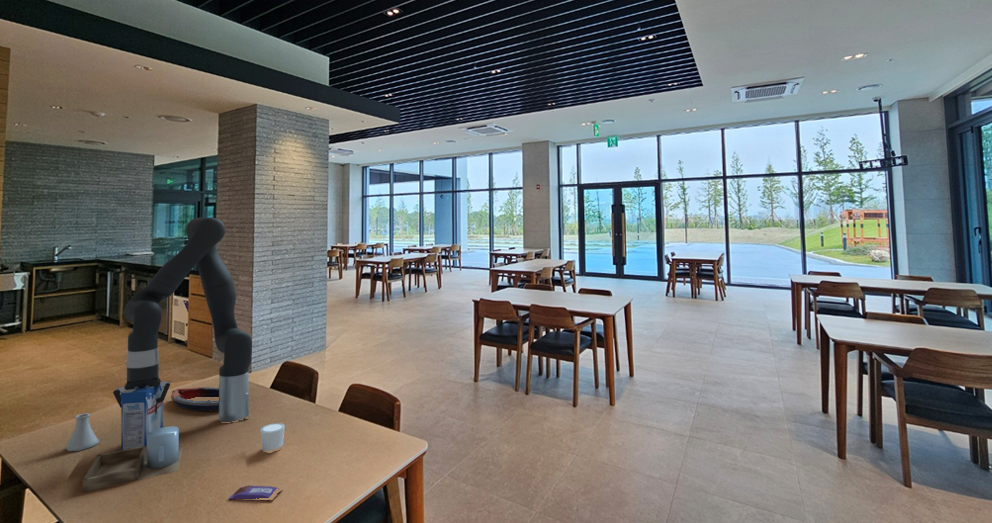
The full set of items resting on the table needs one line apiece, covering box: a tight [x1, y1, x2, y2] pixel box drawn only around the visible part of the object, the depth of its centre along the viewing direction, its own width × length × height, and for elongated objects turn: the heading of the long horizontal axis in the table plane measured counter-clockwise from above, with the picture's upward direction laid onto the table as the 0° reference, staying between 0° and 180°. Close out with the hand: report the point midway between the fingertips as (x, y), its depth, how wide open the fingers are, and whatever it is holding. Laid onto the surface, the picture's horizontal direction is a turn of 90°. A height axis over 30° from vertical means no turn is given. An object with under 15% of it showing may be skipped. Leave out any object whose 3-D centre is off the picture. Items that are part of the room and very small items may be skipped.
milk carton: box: [120, 380, 164, 451], centre depth 125 cm, size 10×6×20 cm, turn 17°
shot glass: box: [260, 422, 286, 451], centre depth 127 cm, size 7×7×7 cm
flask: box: [65, 412, 100, 452], centre depth 126 cm, size 7×7×10 cm
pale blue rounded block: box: [147, 426, 180, 469], centre depth 115 cm, size 7×8×9 cm
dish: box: [170, 386, 219, 412], centre depth 161 cm, size 16×31×5 cm, turn 71°
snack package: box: [227, 485, 278, 500], centre depth 104 cm, size 12×2×5 cm
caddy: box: [82, 446, 184, 493], centre depth 112 cm, size 19×15×4 cm
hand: (143, 417), depth 125 cm, fingers open, 4 cm apart
